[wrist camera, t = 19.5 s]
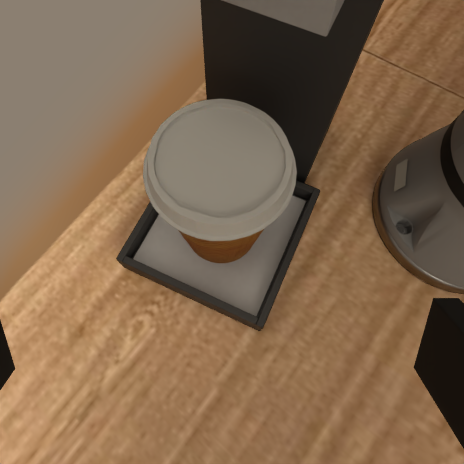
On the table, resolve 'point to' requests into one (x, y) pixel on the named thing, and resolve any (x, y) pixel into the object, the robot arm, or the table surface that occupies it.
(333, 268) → the table surface
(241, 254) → the disposable coffee cup
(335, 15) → the coffee machine
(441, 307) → the robot arm
